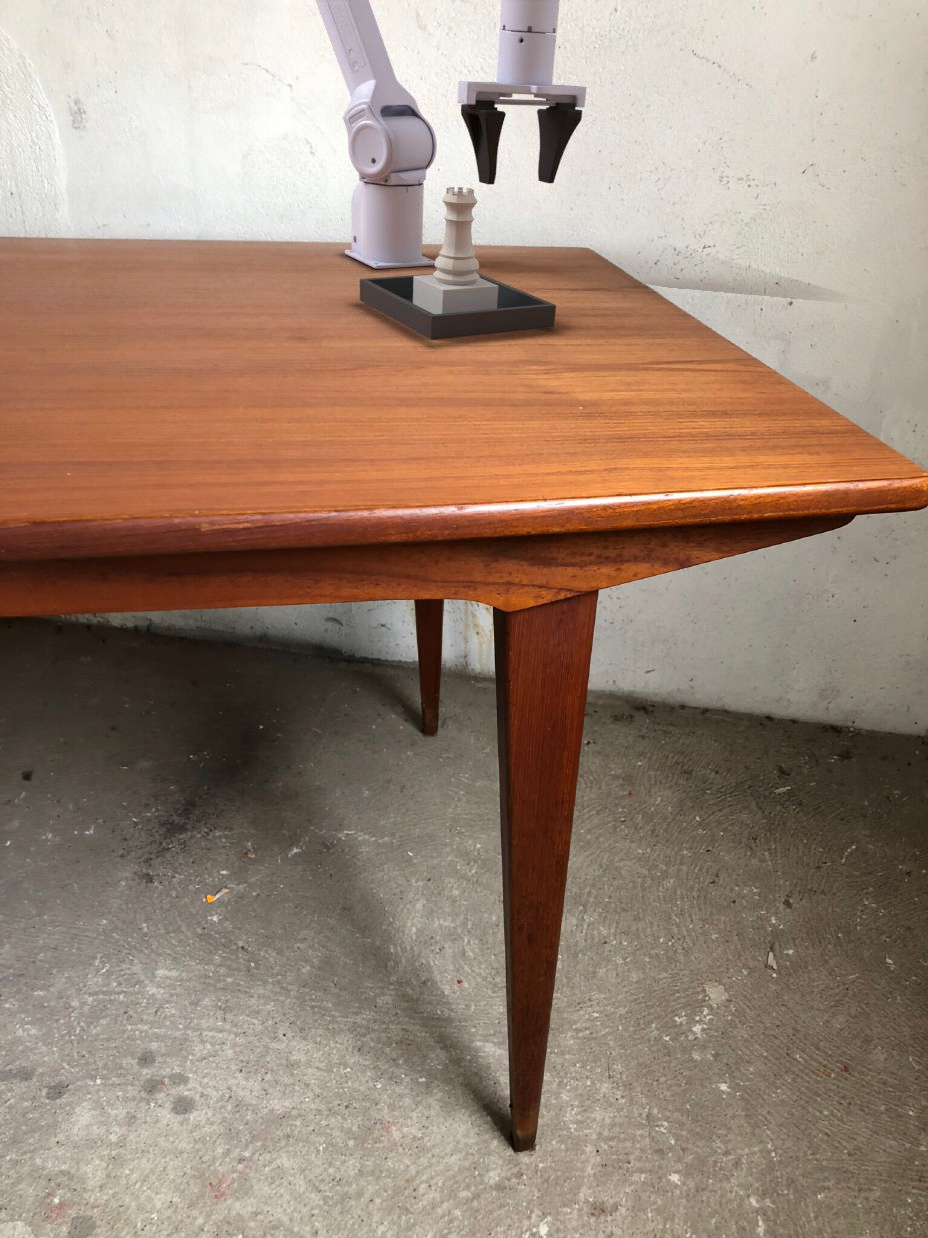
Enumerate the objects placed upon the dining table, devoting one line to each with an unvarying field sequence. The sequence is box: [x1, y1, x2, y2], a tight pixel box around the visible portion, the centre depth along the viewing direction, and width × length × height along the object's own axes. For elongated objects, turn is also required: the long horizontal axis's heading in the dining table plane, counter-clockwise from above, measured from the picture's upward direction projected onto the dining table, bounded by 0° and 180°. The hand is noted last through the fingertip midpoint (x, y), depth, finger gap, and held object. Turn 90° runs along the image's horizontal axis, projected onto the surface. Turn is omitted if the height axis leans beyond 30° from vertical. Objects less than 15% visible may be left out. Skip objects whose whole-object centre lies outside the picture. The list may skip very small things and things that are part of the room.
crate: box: [359, 271, 557, 341], centre depth 88 cm, size 15×13×3 cm
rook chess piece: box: [432, 186, 480, 285], centre depth 85 cm, size 4×4×8 cm
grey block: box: [413, 274, 498, 314], centre depth 87 cm, size 6×6×3 cm
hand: (516, 182), depth 98 cm, fingers open, 7 cm apart
